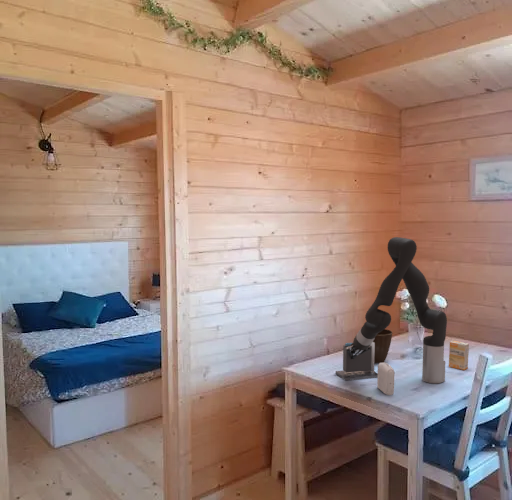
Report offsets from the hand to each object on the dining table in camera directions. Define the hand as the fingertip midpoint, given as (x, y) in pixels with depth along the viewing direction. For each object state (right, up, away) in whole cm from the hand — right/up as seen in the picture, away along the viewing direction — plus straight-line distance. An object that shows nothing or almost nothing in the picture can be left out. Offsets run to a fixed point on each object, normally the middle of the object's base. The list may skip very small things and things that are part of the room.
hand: (351, 357), depth 243 cm
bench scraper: (+4, -8, +4) cm, 10 cm away
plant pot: (+18, -8, +27) cm, 33 cm away
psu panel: (+3, -10, +4) cm, 11 cm away
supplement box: (+57, -9, +16) cm, 60 cm away
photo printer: (+12, -12, -17) cm, 24 cm away
